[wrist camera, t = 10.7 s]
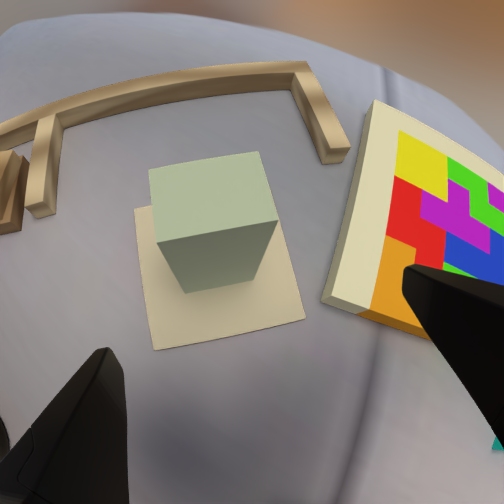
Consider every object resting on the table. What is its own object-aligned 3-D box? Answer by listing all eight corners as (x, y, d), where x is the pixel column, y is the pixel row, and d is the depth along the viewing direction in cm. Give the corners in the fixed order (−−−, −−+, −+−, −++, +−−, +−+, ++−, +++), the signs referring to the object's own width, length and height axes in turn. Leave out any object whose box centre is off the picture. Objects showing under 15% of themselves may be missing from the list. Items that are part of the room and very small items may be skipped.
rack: (341, 162, 27) (350, 146, 25) (-34, 241, 21) (-48, 232, 19) (301, 77, 31) (306, 61, 29) (-16, 147, 25) (-26, 136, 23)
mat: (304, 319, 23) (305, 318, 22) (155, 350, 21) (153, 350, 21) (268, 187, 26) (268, 184, 25) (135, 211, 24) (134, 208, 24)
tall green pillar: (253, 280, 23) (278, 219, 13) (184, 293, 22) (156, 242, 12) (242, 235, 24) (258, 151, 14) (176, 247, 23) (148, 169, 13)
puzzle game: (364, 116, 31) (279, 414, 21) (374, 98, 28) (288, 423, 18) (538, 222, 30) (515, 447, 20) (551, 214, 27) (532, 449, 17)
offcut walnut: (23, 232, 23) (10, 221, 21) (-13, 240, 22) (-27, 230, 20) (33, 168, 25) (22, 155, 23) (-2, 178, 24) (-13, 167, 22)
